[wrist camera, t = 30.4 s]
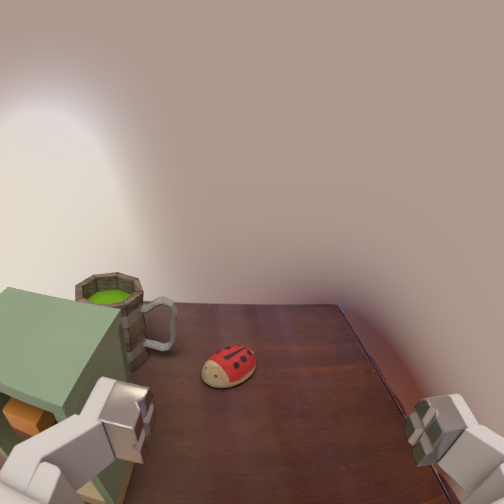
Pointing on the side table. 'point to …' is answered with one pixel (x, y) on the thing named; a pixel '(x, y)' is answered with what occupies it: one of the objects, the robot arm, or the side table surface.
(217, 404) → the side table surface
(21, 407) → the granola carton
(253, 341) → the side table surface
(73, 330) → the cubby
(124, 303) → the mug
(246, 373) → the ladybug figurine
